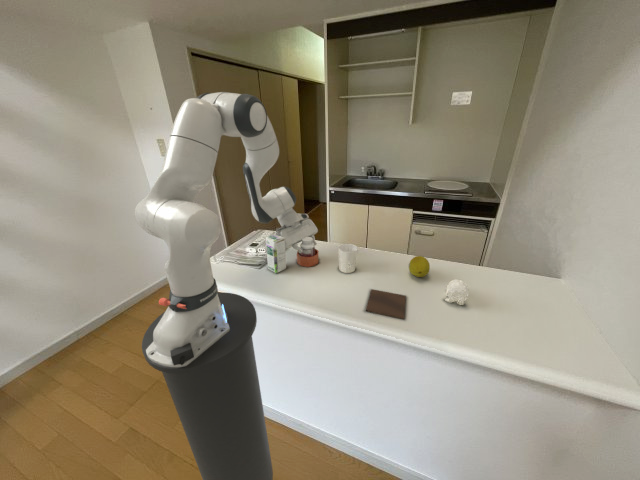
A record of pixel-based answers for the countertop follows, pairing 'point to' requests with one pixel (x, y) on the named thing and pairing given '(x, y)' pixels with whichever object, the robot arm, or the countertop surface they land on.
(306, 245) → the pill bottle
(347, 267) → the white cup
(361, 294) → the countertop surface
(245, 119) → the robot arm
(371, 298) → the walnut board
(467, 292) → the white lumpy piece
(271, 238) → the syrup box
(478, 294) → the countertop surface
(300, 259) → the orange round bowl
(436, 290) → the countertop surface
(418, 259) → the lemon
